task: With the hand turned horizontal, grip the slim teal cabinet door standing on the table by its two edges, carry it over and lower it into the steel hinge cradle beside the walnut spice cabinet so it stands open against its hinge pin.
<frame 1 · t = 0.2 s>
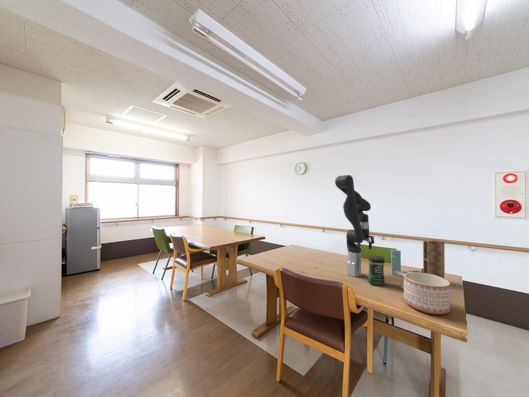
hand: (364, 248, 165), 18 cm above the table, tool pointing down, fingers open, 8 cm apart
planter: (425, 307, 111), on the table
cabinet: (416, 276, 152), on the table
door handle: (418, 292, 128), on the table
door: (395, 274, 156), on the table
coffee jar: (376, 284, 140), on the table
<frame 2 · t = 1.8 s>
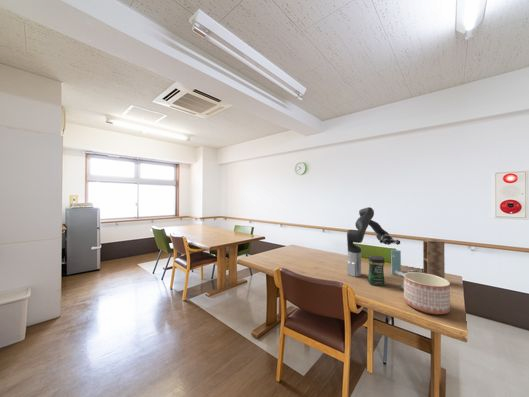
hand: (391, 243, 167), 21 cm above the table, tool horizontal, fingers open, 8 cm apart
nothing on the table moved.
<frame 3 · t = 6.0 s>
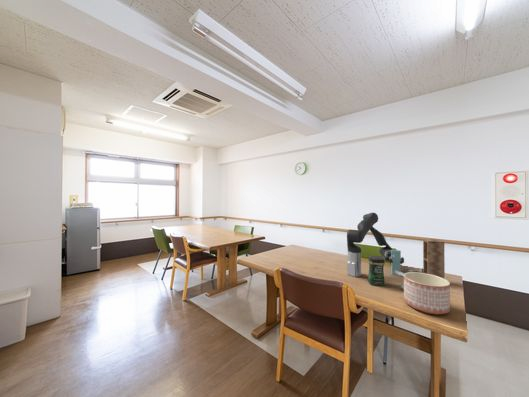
hand: (396, 262, 154), 10 cm above the table, tool horizontal, fingers closed on door, 5 cm apart
door: (395, 274, 156), on the table, touching gripper
everything else where it was.
when the fingers open (12 cm above the table, at t = 11.8 s): door stays where it is, resting on cabinet.
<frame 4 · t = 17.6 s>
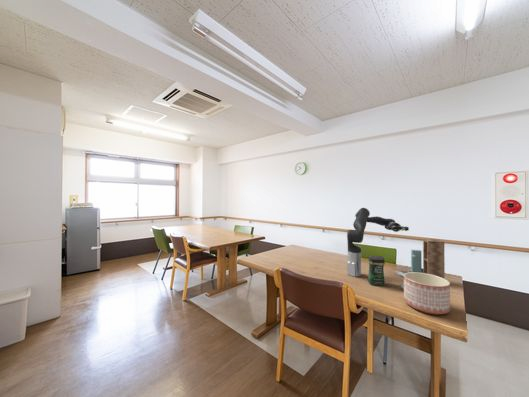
hand: (400, 229, 166), 32 cm above the table, tool horizontal, fingers open, 8 cm apart
door: (416, 275, 152), point 1 cm above the table, touching cabinet
everything else where it was.
at the end: door 0.1 cm from the target spot, point 1.0 cm above the table; door tilted 0°; the gripper is holding nothing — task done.
